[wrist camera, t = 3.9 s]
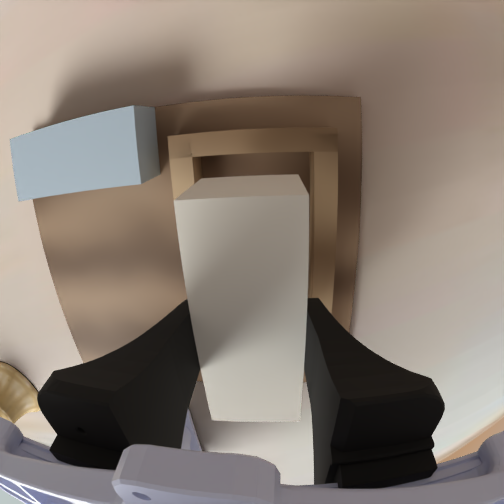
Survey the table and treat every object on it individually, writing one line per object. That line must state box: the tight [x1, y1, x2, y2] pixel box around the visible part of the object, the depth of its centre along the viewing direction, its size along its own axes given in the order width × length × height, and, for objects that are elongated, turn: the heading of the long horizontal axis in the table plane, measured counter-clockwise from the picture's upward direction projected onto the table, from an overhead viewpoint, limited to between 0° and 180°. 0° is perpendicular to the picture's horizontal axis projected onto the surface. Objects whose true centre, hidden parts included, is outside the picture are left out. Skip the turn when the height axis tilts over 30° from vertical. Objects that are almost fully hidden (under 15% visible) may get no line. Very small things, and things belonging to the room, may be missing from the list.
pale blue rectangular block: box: [10, 105, 161, 201], centre depth 16 cm, size 4×9×3 cm, turn 93°
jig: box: [33, 96, 362, 382], centre depth 19 cm, size 20×22×3 cm
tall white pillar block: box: [174, 174, 309, 422], centre depth 13 cm, size 10×4×4 cm, turn 3°
